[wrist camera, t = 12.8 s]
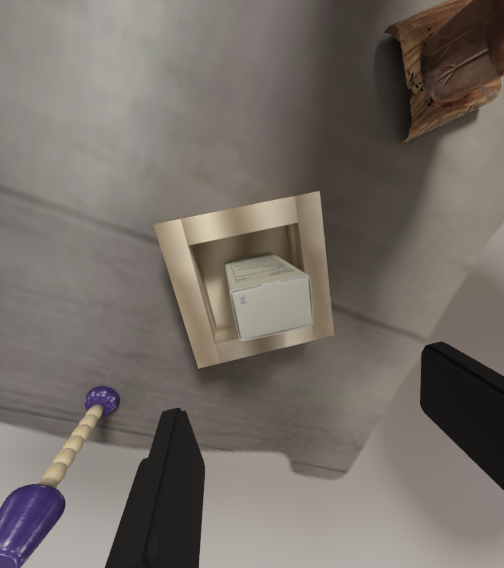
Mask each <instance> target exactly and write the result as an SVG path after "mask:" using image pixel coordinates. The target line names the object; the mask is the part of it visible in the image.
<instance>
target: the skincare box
mask: <svg viewBox="0 0 504 568" xmlns="http://www.w3.org/2000/svg"><path fill="white" fill-rule="evenodd" d="M224 264H225V270H226V277H227V282H228V288H229V293H230V299H231V304H232V309H233V314H234V319H235V324H236V328H237V332H238V336H239V340H240V341H245V340H251V339H257V338H261V337H266V336H271V335H275V334H279V333H284V332H288V331H292V330H296V329H300V328H304V327H308V326H312V325H313V306H312V290H311V278H310V276H309V275H307V274H305V273H304V272H302V271H301V270H299V269H297V268H296V267H294V266H293V265H291V264H289V263H288V262H286V261H285V260H283V259H281V258H280V257H278V256H277V255H275V254H273V253H264V254H259V255H253V256H248V257H243V258H238V259H233V260H229V261H225V262H224Z"/></svg>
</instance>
